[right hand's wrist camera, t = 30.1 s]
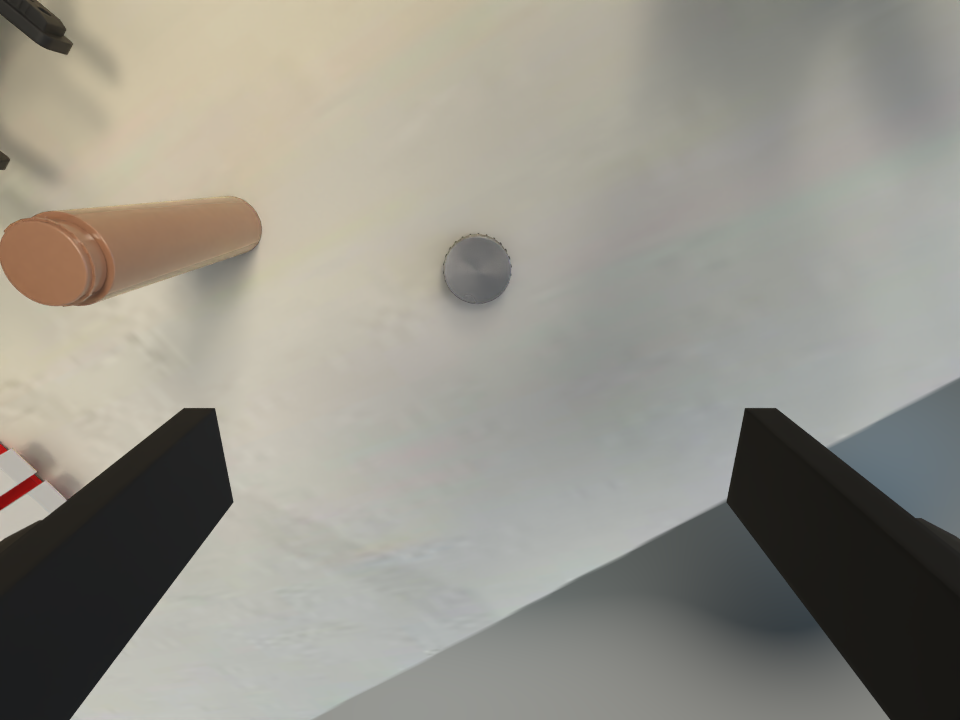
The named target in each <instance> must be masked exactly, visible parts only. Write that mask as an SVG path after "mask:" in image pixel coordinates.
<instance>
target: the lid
mask: <svg viewBox="0 0 960 720" xmlns="http://www.w3.org/2000/svg"><path fill="white" fill-rule="evenodd" d="M445 257H446V259H445V262H444V264H443V265H444V272H443V274H444V277H445V282H446V283H447V285H448V287H449V289H450V290H451V291H452V293H453V294H454V295H455V296H457V297H458V298H460V299H461V300H463V301H466V302H469V303H474V304H480V303H486V302H489V301H492V300H494V299H495V298H497V297H498V296H499V295H500V294H502V292H503V291H504V290H505V288H506V287H507V285H508V284H509V280H510V276H511V268H512V266H511V264H510V257H509V256H508V254H507V250H506V249H504V247H503V246H502V244H501V242H500V243H499V242H498V241H497V240H495V238H491V237H489V236H487V234H486V235H481V234H479V233H478V234H474V235H471V234H470V235H469V236H466V237H462V238H461V239H460V240H458V241H455V244H454V245H453V246H452V247H450V249H449V252H448V254H446V256H445Z"/></svg>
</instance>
